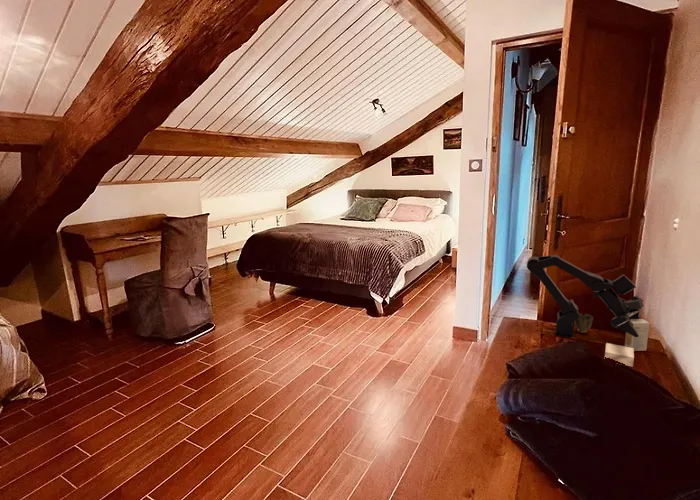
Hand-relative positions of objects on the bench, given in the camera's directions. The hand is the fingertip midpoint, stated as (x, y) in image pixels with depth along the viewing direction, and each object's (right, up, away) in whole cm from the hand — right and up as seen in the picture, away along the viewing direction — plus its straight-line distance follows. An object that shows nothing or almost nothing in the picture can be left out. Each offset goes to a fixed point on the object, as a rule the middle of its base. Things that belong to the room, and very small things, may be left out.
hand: (641, 333), depth 157 cm
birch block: (-13, -9, -5) cm, 16 cm away
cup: (-13, -4, +19) cm, 23 cm away
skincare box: (-1, -7, +3) cm, 7 cm away
